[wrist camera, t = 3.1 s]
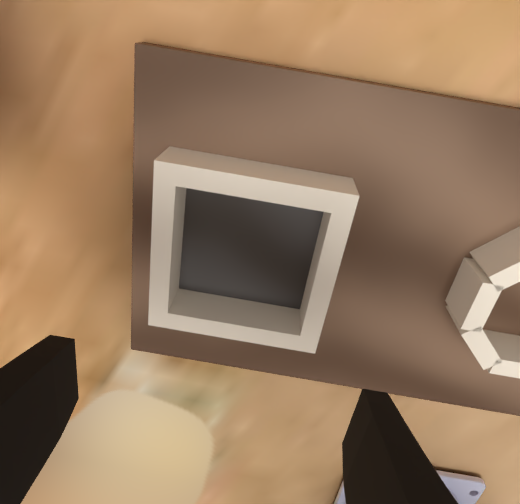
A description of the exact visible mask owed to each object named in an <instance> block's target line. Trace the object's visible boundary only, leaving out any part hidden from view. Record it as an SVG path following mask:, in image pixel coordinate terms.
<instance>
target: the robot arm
mask: <svg viewBox="0 0 520 504" xmlns="http://www.w3.org/2000/svg"><path fill="white" fill-rule="evenodd" d="M77 401H78V383H77V369H76V354H75V340H74V339H71V338H65V337H59V336H53V335H49V336H48V337H46V338H45V339H43V340H42V341H40V342H39V343H37V344H36V345H34V346H33V347H31V348H30V349H28V350H27V351H25V352H24V353H22V354H21V355H19V356H18V357H16V358H15V359H13V360H12V361H10V362H9V363H8V364H6V365H5V366H3V367H2V368H0V504H20V503H21V502H22V500H23V499H24V497H25V495H26V494H27V492H28V490H29V489H30V487H31V486H32V484H33V482H34V481H35V479H36V477H37V476H38V474H39V473H40V471H41V469H42V468H43V466H44V464H45V463H46V461H47V459H48V458H49V456H50V454H51V453H52V451H53V449H54V448H55V446H56V444H57V442H58V441H59V439H60V437H61V435H62V433H63V431H64V429H65V427H66V425H67V423H68V421H69V419H70V416H71V414H72V412H73V410H74V407H75V405H76V403H77ZM342 451H343V482H342V484H341V487H340V489H339V492H338V494H337V497H336V499H335V502H334V504H475V503H476V502H477V500H478V499H479V497H480V496H481V494H482V493H483V491H484V490H485V488H486V486H485V483H484V481H483V479H481V478H479V477H474V476H468V475H462V474H457V473H451V472H445V471H439V470H435V469H434V467H433V466H432V464H431V462H430V461H429V459H428V458H427V456H426V455H425V453H424V452H423V450H422V449H421V447H420V445H419V444H418V442H417V441H416V439H415V437H414V436H413V434H412V432H411V431H410V429H409V428H408V426H407V424H406V423H405V421H404V419H403V418H402V416H401V414H400V413H399V411H398V409H397V408H396V406H395V404H394V403H393V401H392V399H391V398H390V396H389V395H388V393H386V392H380V391H374V390H368V389H362V392H361V394H360V397H359V400H358V403H357V405H356V408H355V411H354V413H353V416H352V419H351V421H350V424H349V427H348V430H347V432H346V435H345V438H344V440H343V443H342Z"/></svg>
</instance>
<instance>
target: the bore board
mask: <svg viewBox="0 0 520 504" xmlns="http://www.w3.org/2000/svg"><path fill="white" fill-rule="evenodd" d="M131 349H133V350H139V351H145V352H150V353H156V354H162V355H168V356H174V357H180V358H185V359H191V360H197V361H203V362H209V363H215V364H220V365H226V366H232V367H238V368H244V369H250V370H255V371H261V372H267V373H273V374H279V375H285V376H290V377H296V378H302V379H308V380H314V381H320V382H325V383H331V384H337V385H343V386H349V387H355V388H360V389H368V390H374V391H380V392H386V393H390V394H395V395H401V396H407V397H413V398H419V399H425V400H430V401H436V402H442V403H448V404H454V405H460V406H465V407H471V408H477V409H483V410H489V411H495V412H500V413H506V414H512V415H518V416H520V108H517V107H511V106H505V105H499V104H494V103H488V102H482V101H477V100H471V99H465V98H459V97H454V96H448V95H442V94H436V93H431V92H425V91H419V90H414V89H408V88H402V87H396V86H391V85H385V84H379V83H374V82H368V81H362V80H356V79H351V78H345V77H339V76H334V75H328V74H322V73H316V72H311V71H305V70H299V69H293V68H288V67H282V66H276V65H271V64H265V63H259V62H253V61H248V60H242V59H236V58H231V57H225V56H219V55H213V54H208V53H202V52H196V51H191V50H185V49H179V48H173V47H168V46H162V45H156V44H150V43H145V42H142V43H135V71H134V152H133V234H132V315H131Z"/></svg>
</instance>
